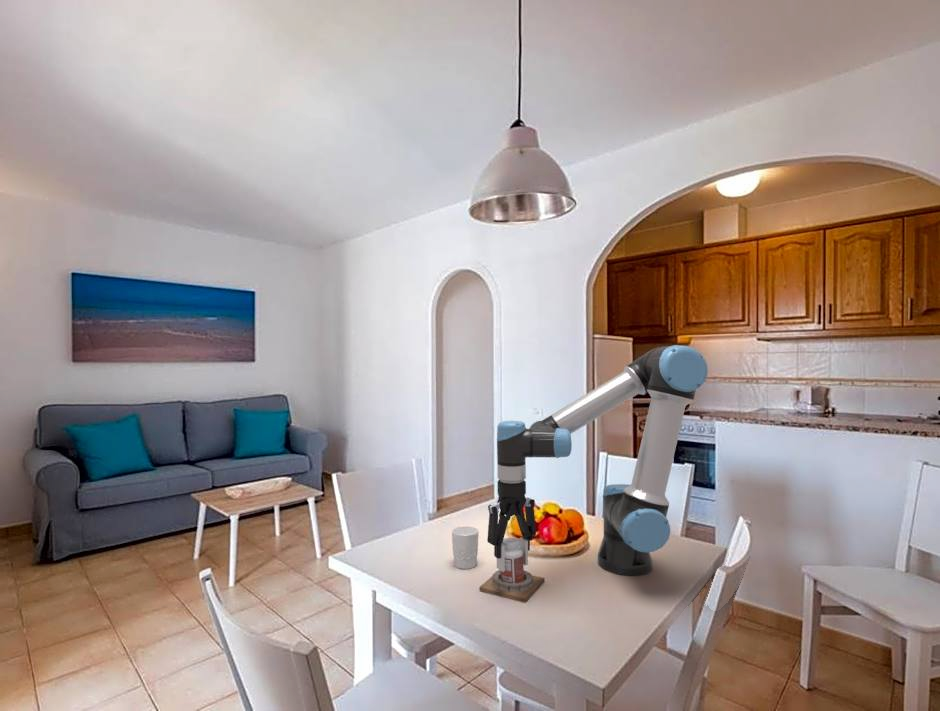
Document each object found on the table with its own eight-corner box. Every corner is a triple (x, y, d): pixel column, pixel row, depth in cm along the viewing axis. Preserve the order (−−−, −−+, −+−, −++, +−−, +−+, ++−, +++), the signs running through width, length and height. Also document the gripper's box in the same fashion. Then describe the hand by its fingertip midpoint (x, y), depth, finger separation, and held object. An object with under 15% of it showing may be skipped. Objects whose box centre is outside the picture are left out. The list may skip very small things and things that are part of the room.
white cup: (459, 557, 149) (459, 524, 149) (483, 561, 145) (482, 528, 145) (447, 567, 142) (447, 532, 142) (471, 572, 138) (471, 536, 138)
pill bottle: (521, 576, 133) (520, 535, 133) (526, 586, 127) (524, 544, 127) (499, 577, 132) (497, 536, 132) (502, 588, 126) (501, 545, 126)
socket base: (544, 581, 132) (544, 572, 132) (525, 602, 121) (525, 592, 121) (501, 571, 138) (501, 562, 138) (479, 590, 127) (479, 581, 127)
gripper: (532, 472, 138) (533, 553, 138) (472, 481, 128) (473, 569, 128) (549, 477, 131) (550, 563, 131) (487, 488, 122) (488, 580, 121)
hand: (512, 566), depth 130 cm, fingers open, 7 cm apart
